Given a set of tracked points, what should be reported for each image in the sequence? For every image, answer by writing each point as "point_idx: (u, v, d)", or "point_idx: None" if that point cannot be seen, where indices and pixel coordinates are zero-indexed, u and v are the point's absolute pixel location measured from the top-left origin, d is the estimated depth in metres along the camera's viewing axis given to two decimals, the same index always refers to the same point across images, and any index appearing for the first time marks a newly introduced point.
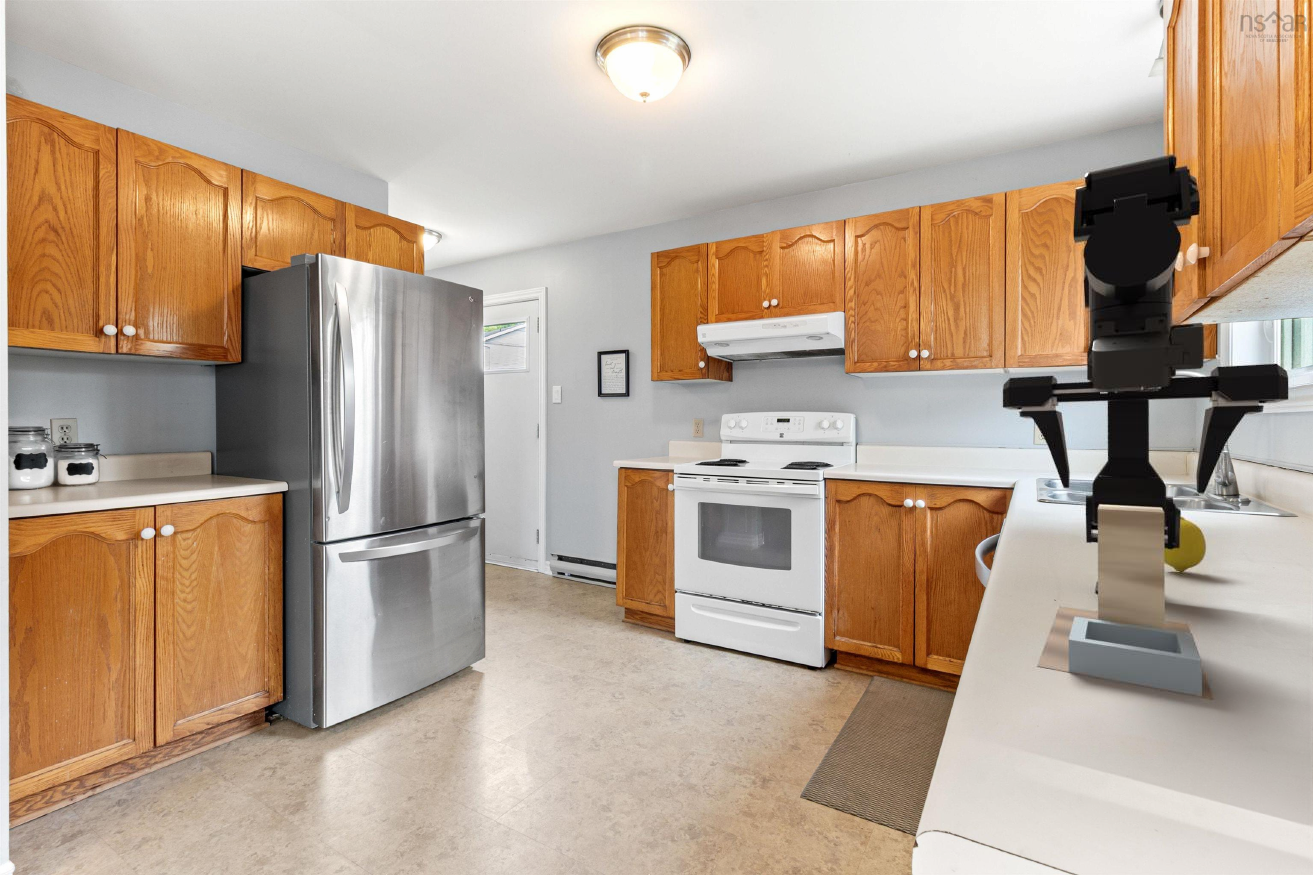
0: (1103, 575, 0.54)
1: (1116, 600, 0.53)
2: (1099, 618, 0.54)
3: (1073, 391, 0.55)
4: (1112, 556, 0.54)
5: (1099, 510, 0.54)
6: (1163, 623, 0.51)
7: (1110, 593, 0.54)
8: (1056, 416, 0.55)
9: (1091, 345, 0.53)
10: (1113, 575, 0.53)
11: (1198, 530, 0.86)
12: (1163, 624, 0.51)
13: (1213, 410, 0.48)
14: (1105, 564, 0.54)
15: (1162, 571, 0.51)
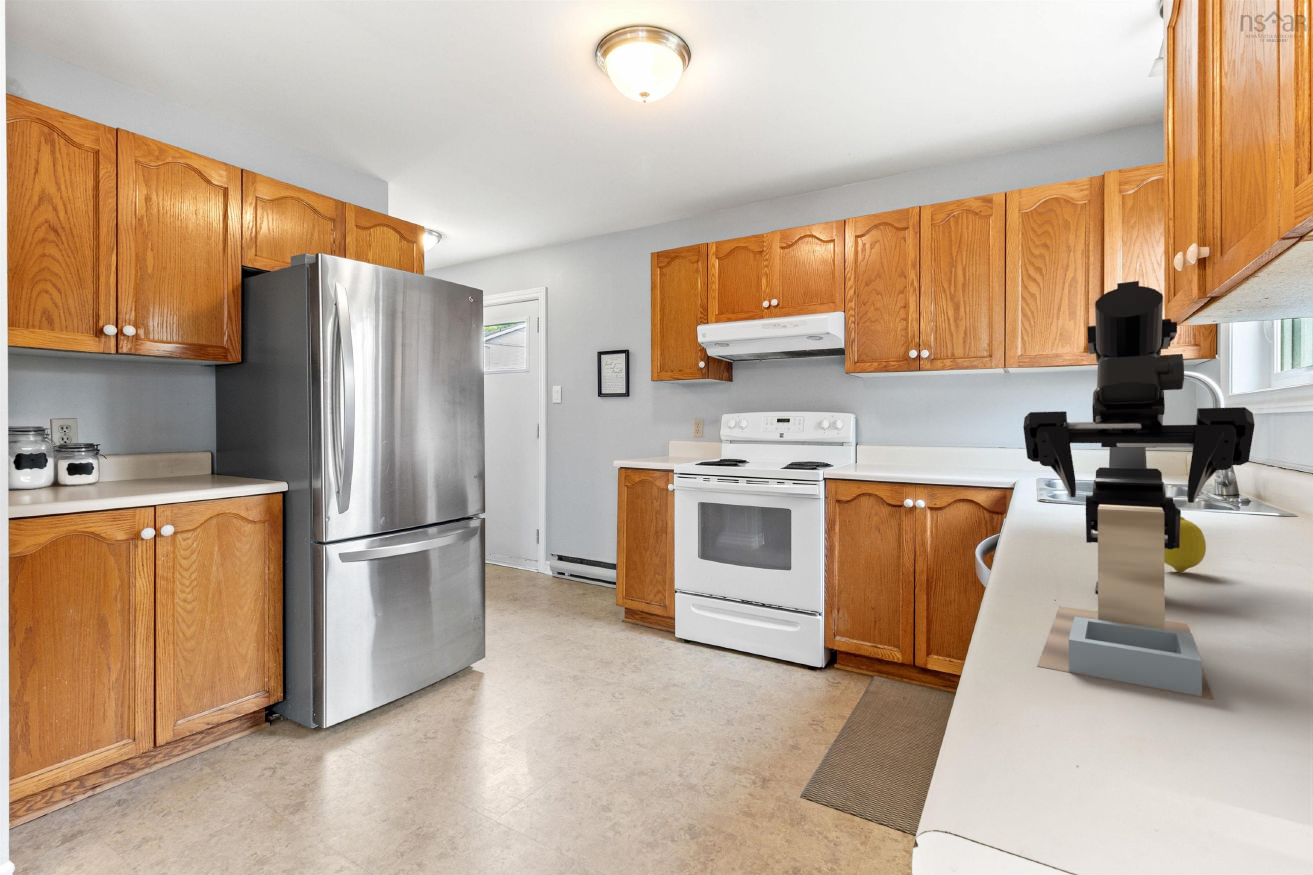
0: (1103, 575, 0.54)
1: (1116, 600, 0.53)
2: (1099, 618, 0.54)
3: (1082, 423, 0.67)
4: (1112, 556, 0.54)
5: (1099, 510, 0.54)
6: (1163, 623, 0.51)
7: (1110, 593, 0.54)
8: (1067, 432, 0.66)
9: None
10: (1113, 575, 0.53)
11: (1198, 530, 0.86)
12: (1163, 624, 0.51)
13: (1196, 428, 0.60)
14: (1105, 564, 0.54)
15: (1162, 571, 0.51)
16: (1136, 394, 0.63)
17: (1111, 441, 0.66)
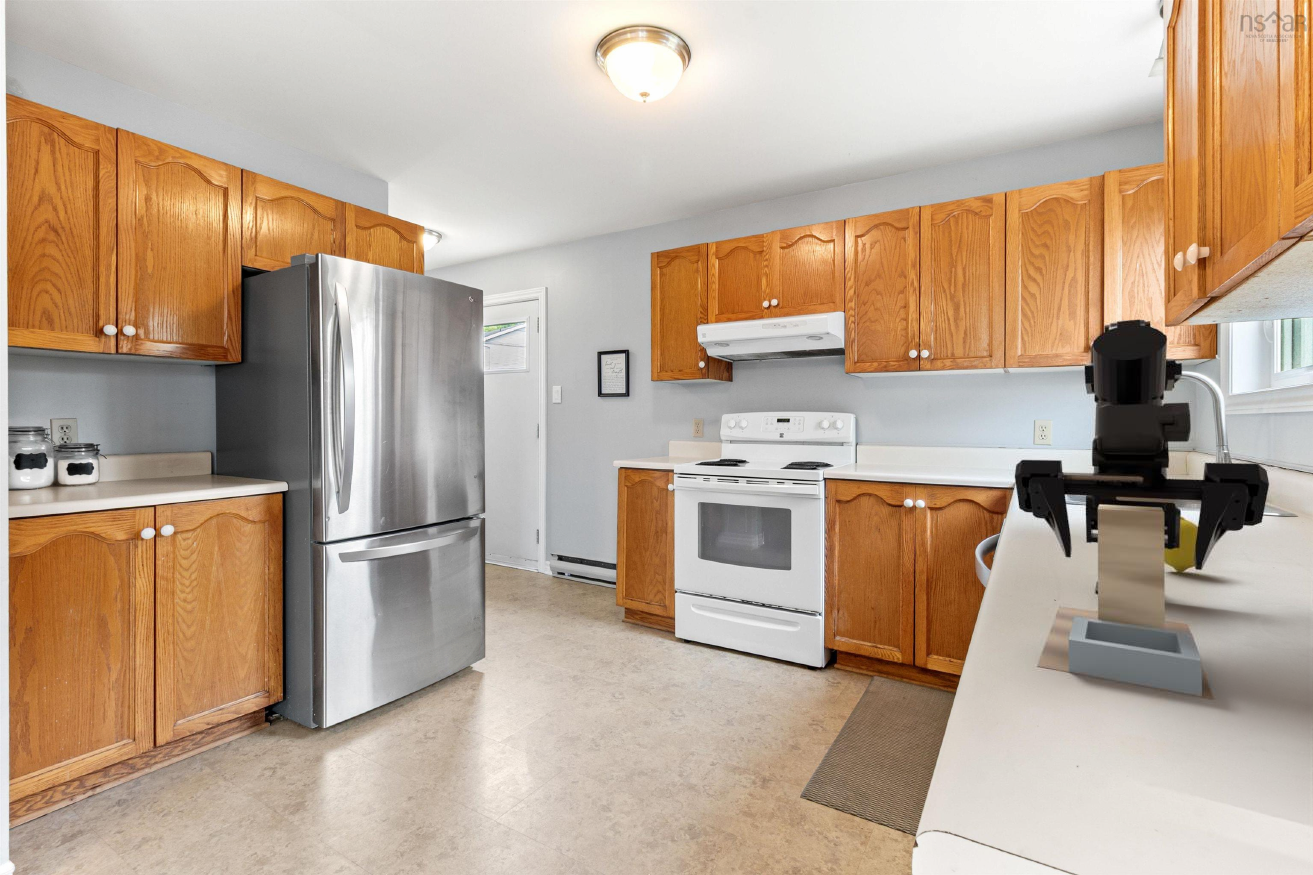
0: (1103, 575, 0.54)
1: (1116, 600, 0.53)
2: (1099, 618, 0.54)
3: (1079, 474, 0.61)
4: (1112, 556, 0.54)
5: (1099, 510, 0.54)
6: (1163, 623, 0.51)
7: (1110, 593, 0.54)
8: (1062, 484, 0.60)
9: None
10: (1113, 575, 0.53)
11: None
12: (1163, 624, 0.51)
13: (1204, 486, 0.54)
14: (1105, 564, 0.54)
15: (1162, 571, 0.51)
16: (1138, 445, 0.57)
17: (1110, 494, 0.60)
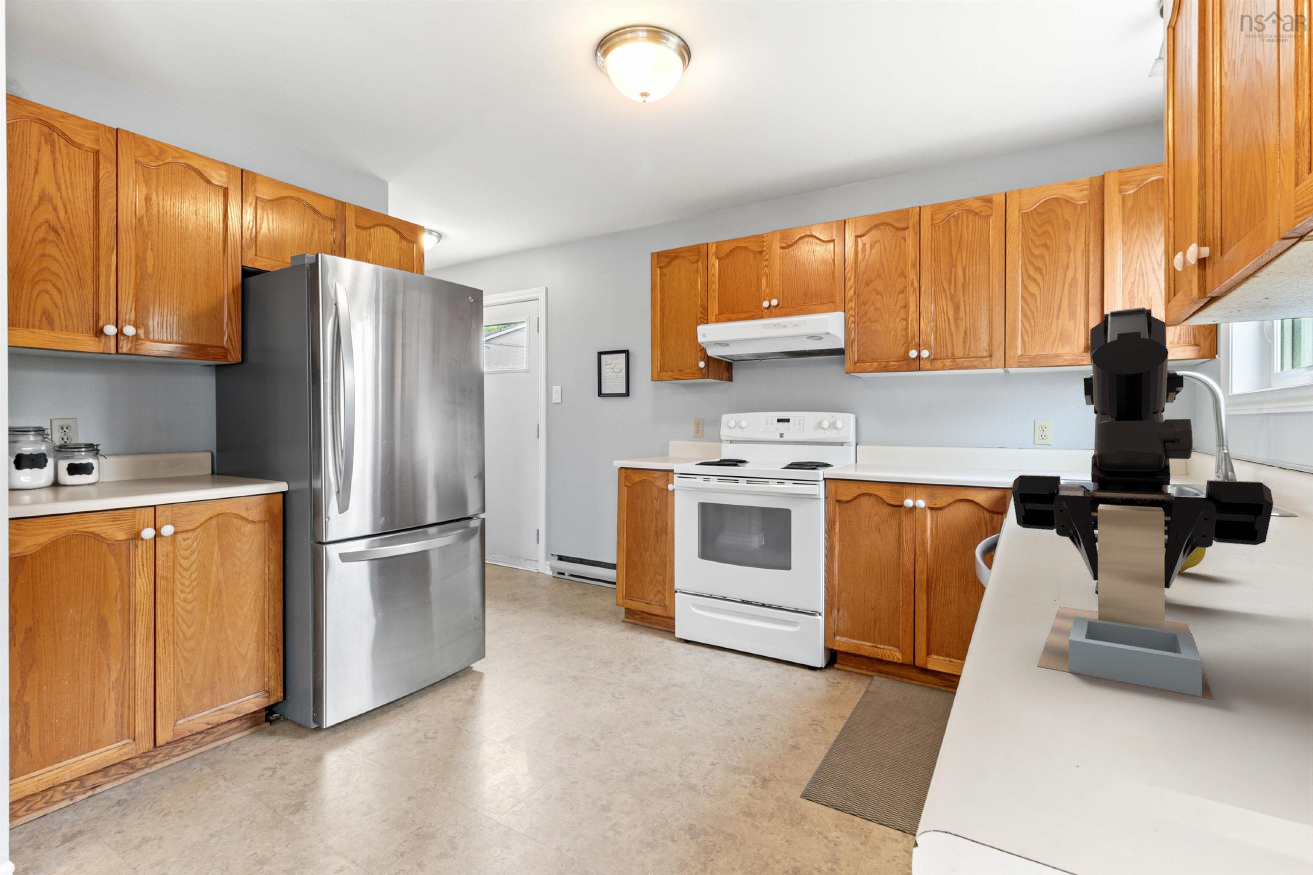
0: (1103, 575, 0.54)
1: (1116, 600, 0.53)
2: (1099, 618, 0.54)
3: None
4: (1112, 556, 0.54)
5: (1099, 510, 0.54)
6: (1163, 623, 0.51)
7: (1110, 593, 0.54)
8: (1089, 503, 0.57)
9: (1095, 452, 0.60)
10: (1113, 575, 0.53)
11: None
12: (1163, 624, 0.51)
13: (1173, 503, 0.54)
14: (1105, 564, 0.54)
15: (1162, 571, 0.51)
16: (1138, 462, 0.56)
17: None
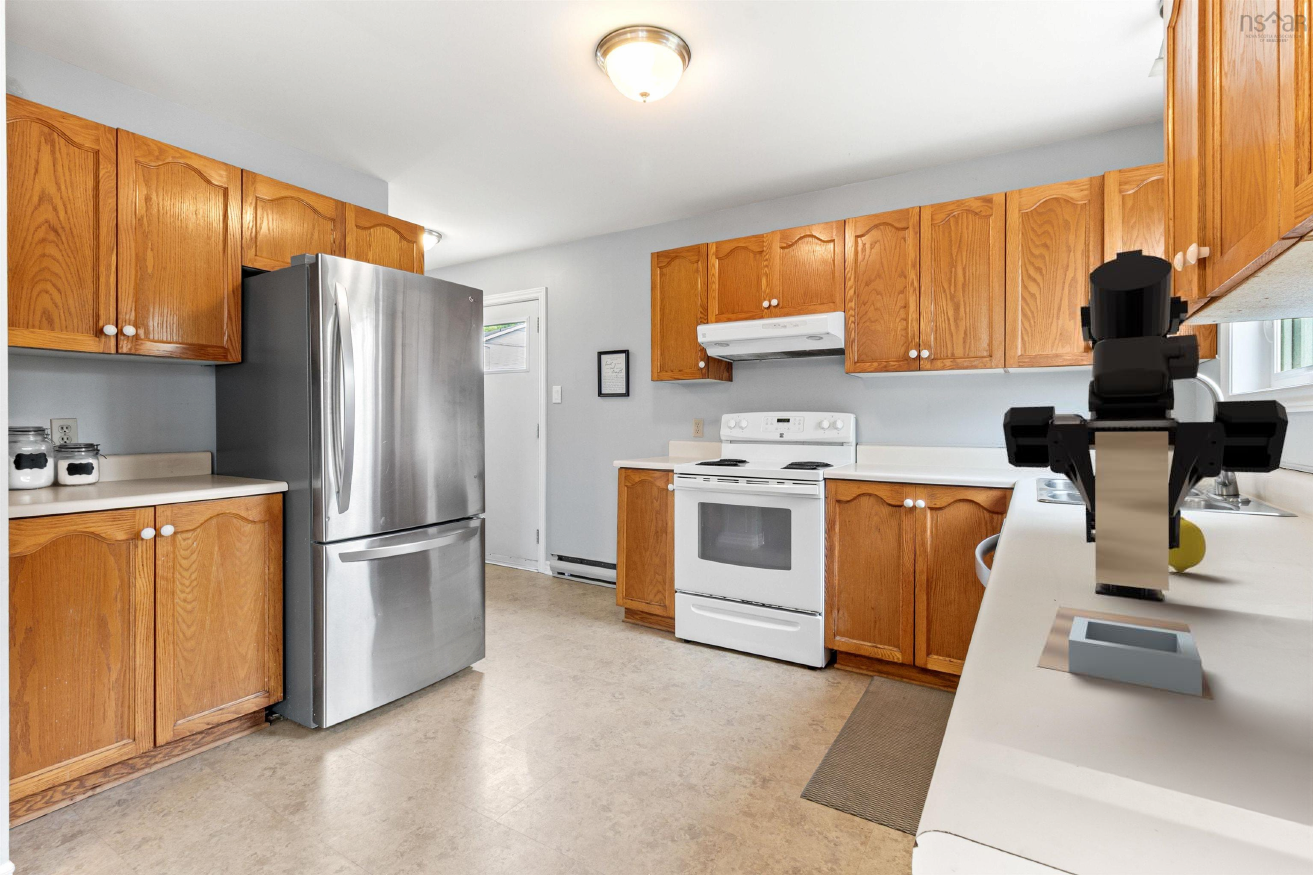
0: (1101, 504, 0.49)
1: (1116, 531, 0.49)
2: (1097, 552, 0.49)
3: None
4: (1110, 483, 0.49)
5: (1097, 433, 0.49)
6: (1167, 553, 0.47)
7: (1108, 523, 0.49)
8: (1086, 431, 0.53)
9: None
10: (1112, 503, 0.49)
11: (1198, 530, 0.86)
12: (1167, 555, 0.47)
13: (1177, 426, 0.49)
14: (1103, 492, 0.49)
15: (1166, 496, 0.47)
16: (1139, 384, 0.51)
17: None
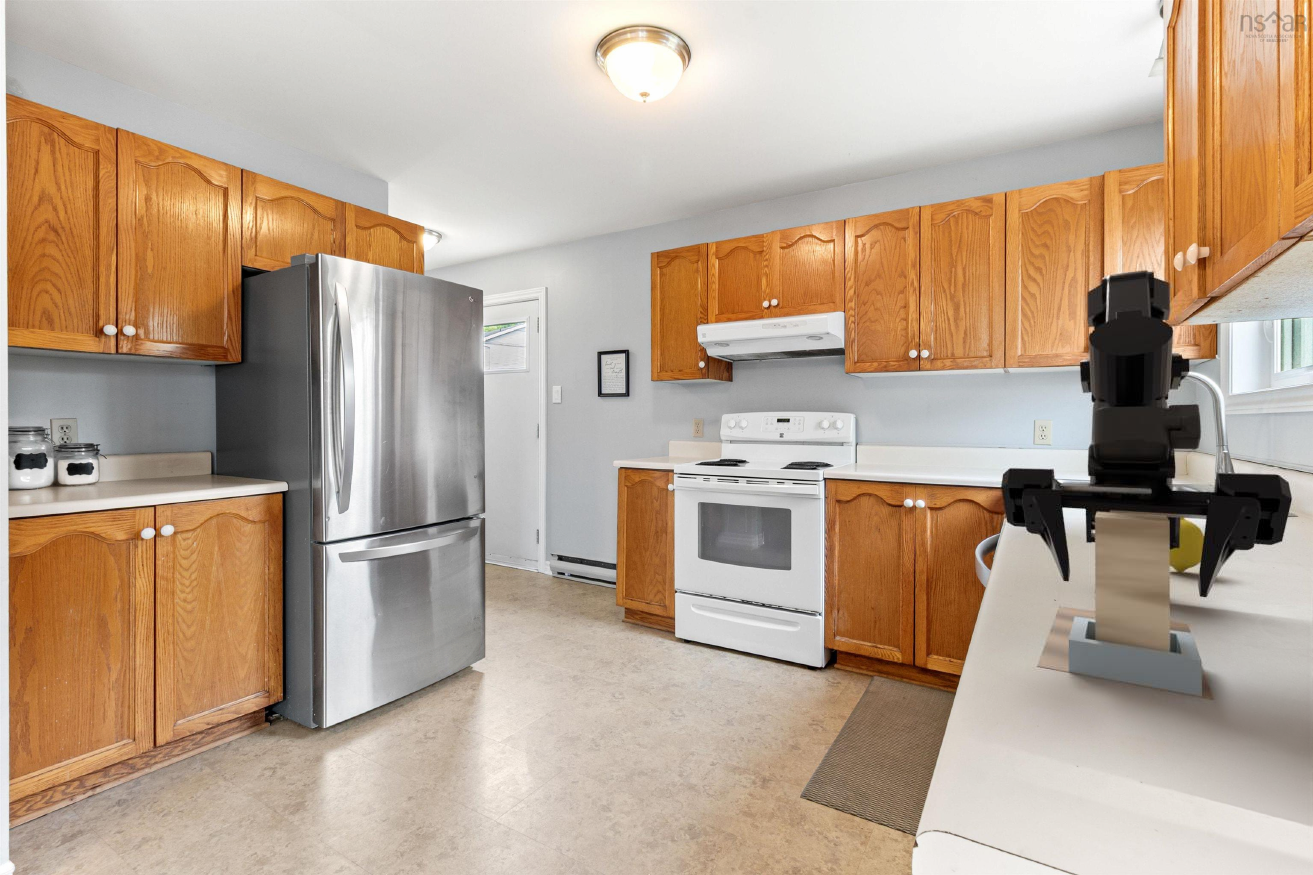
0: (1101, 591, 0.48)
1: (1116, 619, 0.48)
2: (1097, 639, 0.48)
3: (1073, 485, 0.54)
4: (1111, 570, 0.48)
5: (1096, 518, 0.48)
6: (1168, 645, 0.46)
7: (1109, 611, 0.48)
8: (1060, 497, 0.53)
9: None
10: (1112, 590, 0.48)
11: (1198, 530, 0.86)
12: (1168, 647, 0.46)
13: (1209, 500, 0.47)
14: (1103, 578, 0.48)
15: (1167, 587, 0.46)
16: (1140, 453, 0.50)
17: (1109, 508, 0.53)
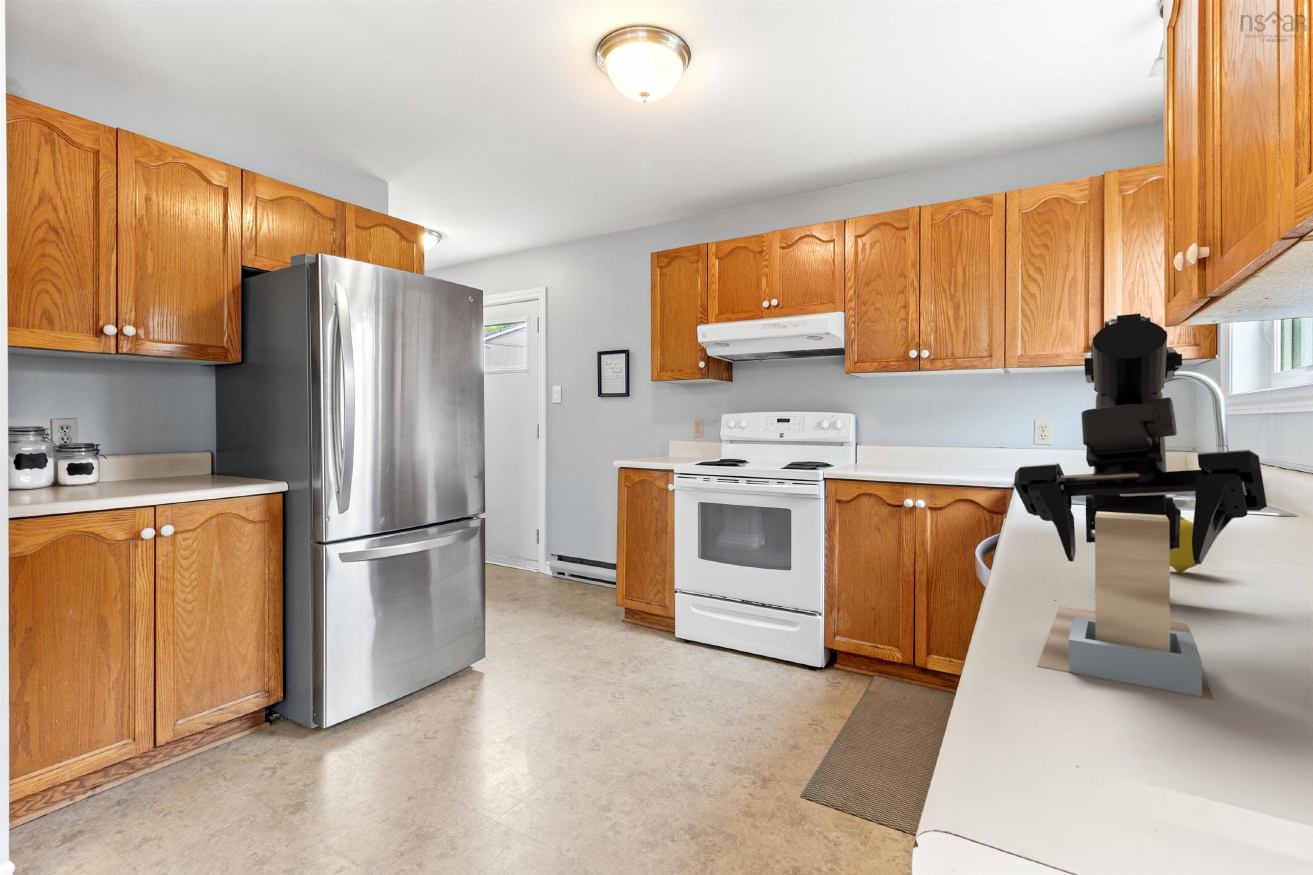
0: (1101, 591, 0.48)
1: (1116, 619, 0.48)
2: (1097, 639, 0.48)
3: (1076, 476, 0.62)
4: (1111, 570, 0.48)
5: (1096, 518, 0.48)
6: (1168, 645, 0.46)
7: (1109, 611, 0.48)
8: (1059, 489, 0.61)
9: None
10: (1112, 590, 0.48)
11: None
12: (1168, 647, 0.46)
13: (1195, 479, 0.54)
14: (1103, 578, 0.48)
15: (1167, 587, 0.46)
16: (1126, 444, 0.58)
17: (1111, 492, 0.61)
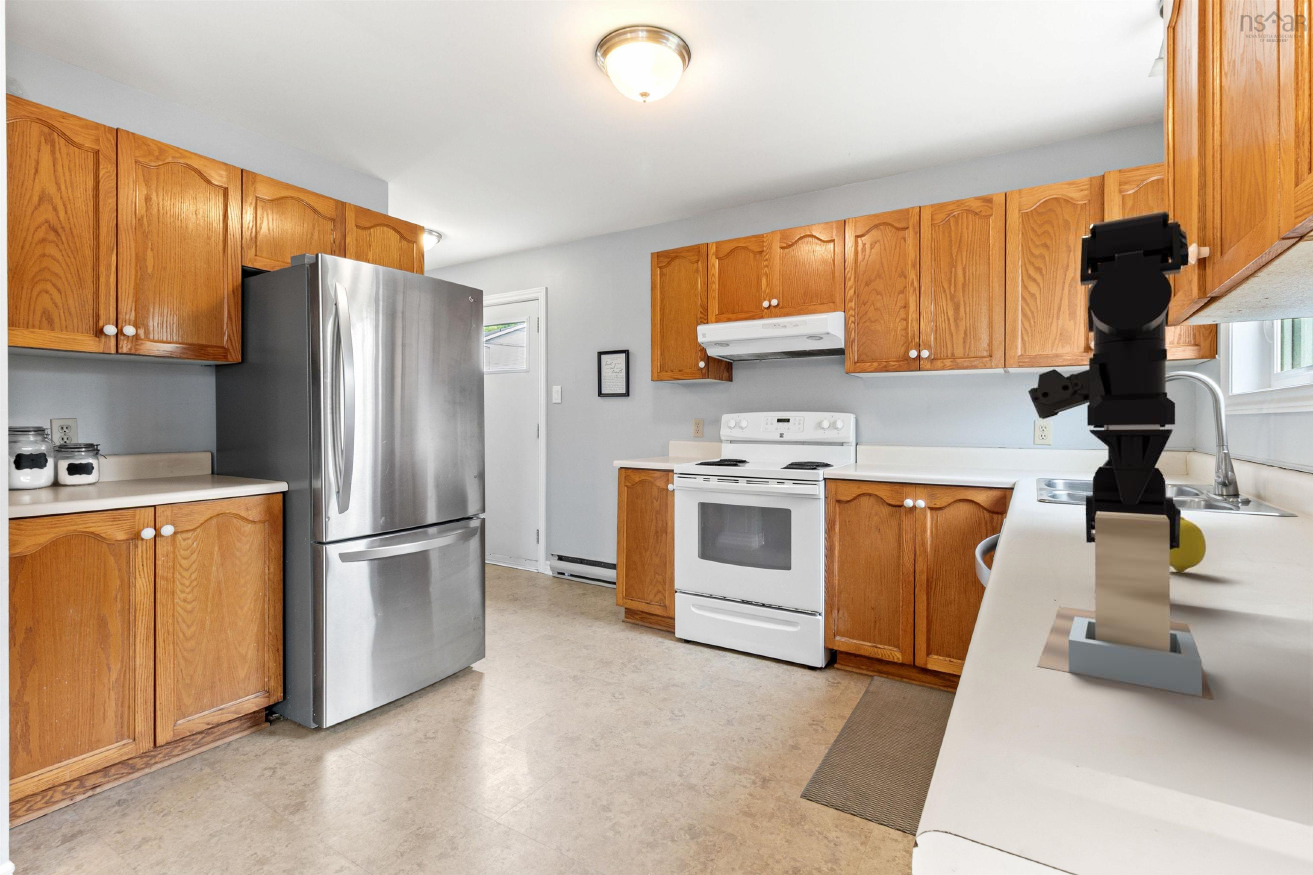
0: (1101, 591, 0.48)
1: (1116, 619, 0.48)
2: (1097, 639, 0.48)
3: None
4: (1111, 570, 0.48)
5: (1096, 518, 0.48)
6: (1168, 645, 0.46)
7: (1109, 611, 0.48)
8: None
9: None
10: (1112, 590, 0.48)
11: (1198, 530, 0.86)
12: (1168, 647, 0.46)
13: None
14: (1103, 578, 0.48)
15: (1167, 587, 0.46)
16: None
17: None
